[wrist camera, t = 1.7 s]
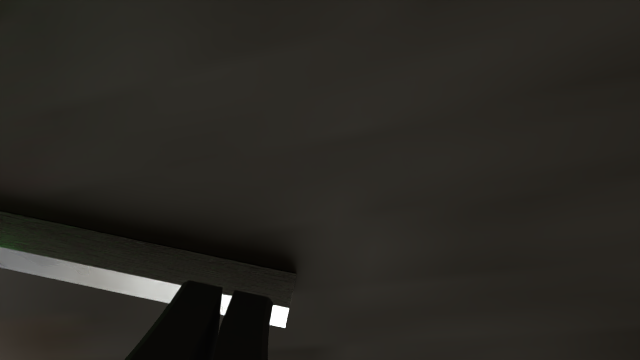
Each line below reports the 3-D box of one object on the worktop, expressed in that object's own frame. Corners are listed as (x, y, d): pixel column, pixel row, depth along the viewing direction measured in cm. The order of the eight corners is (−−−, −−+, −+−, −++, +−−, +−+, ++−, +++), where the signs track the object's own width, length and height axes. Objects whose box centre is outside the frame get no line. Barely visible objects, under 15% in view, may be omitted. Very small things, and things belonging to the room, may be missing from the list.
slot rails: (292, 293, 25) (284, 327, 24) (-176, 193, 25) (-212, 222, 24) (424, -349, 12) (425, -358, 11) (-515, -547, 13) (-634, -581, 11)
